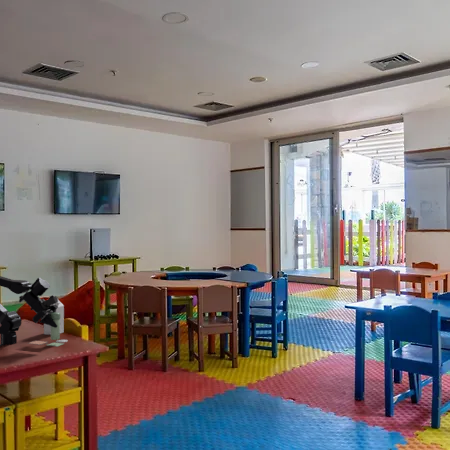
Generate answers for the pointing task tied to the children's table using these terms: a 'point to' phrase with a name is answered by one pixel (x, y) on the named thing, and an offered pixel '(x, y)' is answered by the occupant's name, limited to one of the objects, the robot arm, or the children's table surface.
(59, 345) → the white flat rectangular board
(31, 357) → the children's table surface
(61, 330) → the milk carton
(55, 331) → the green joystick knob
